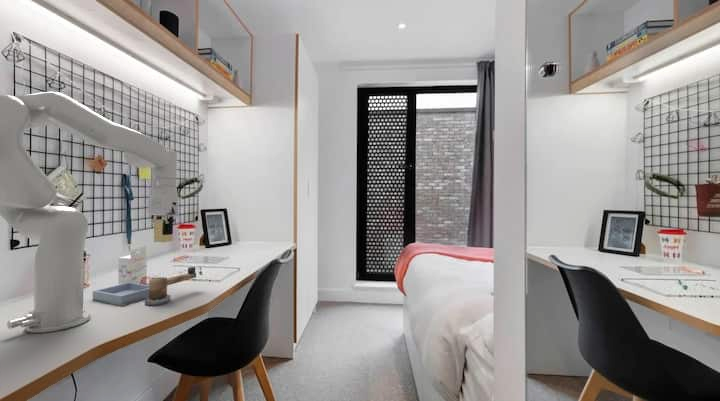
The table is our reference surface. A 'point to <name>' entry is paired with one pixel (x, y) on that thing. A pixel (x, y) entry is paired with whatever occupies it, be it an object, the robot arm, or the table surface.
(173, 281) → the wooden mallet
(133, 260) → the ink cartridge box
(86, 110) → the robot arm
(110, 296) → the tray
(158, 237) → the yellow rectangular block
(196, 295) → the table surface
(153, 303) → the crank base
